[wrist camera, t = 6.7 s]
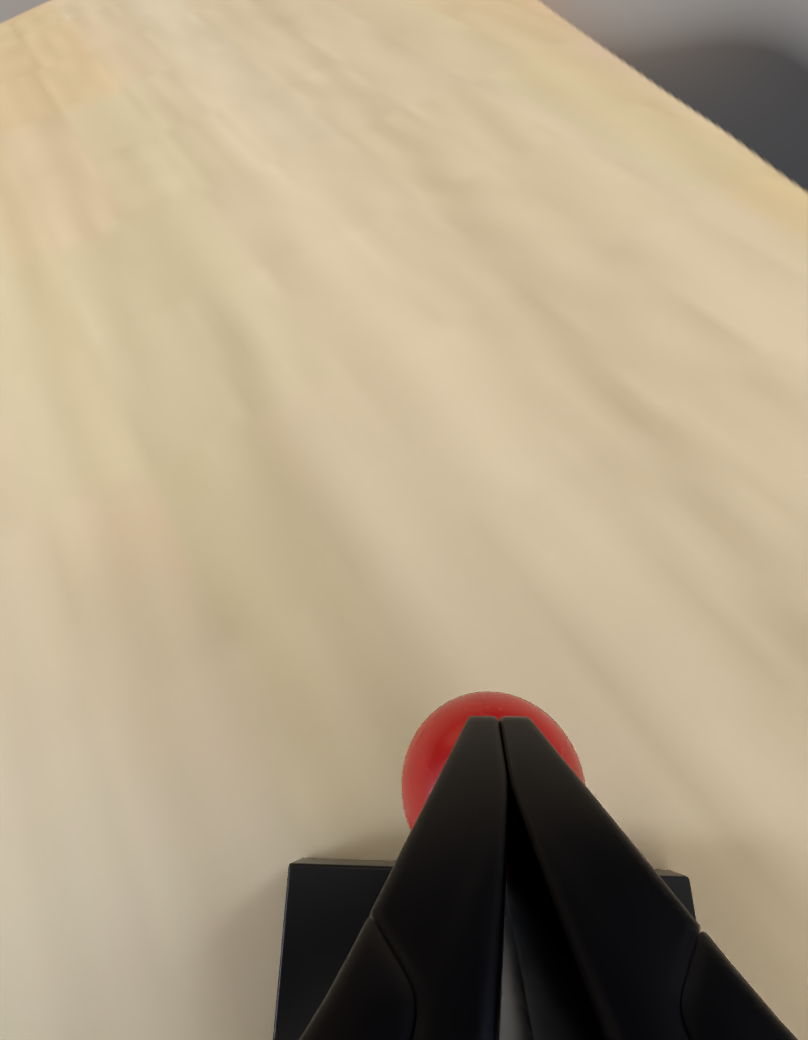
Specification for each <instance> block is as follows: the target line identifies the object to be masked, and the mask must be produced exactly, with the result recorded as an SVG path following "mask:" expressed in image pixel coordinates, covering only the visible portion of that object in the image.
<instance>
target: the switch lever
mask: <svg viewBox="0 0 808 1040" xmlns="http://www.w3.org/2000/svg"><path fill="white" fill-rule="evenodd" d="M470 716H495V717H496V718H497V719H498V720H500V718H501V717H503V716H525V717H528V718H530V719H531V720H532V721H533V722H534V724H535V725H536V726H537V727H538V728H539V730H540V731H541V732H542V733H543V735H544V736H545V737H546V738H547V739H548V741H549V742H550V743H551V744H552V746H553V747H554V748H555V749H556V750H557V752H558V753H559V754H560V755H561V757H562V758H563V759H564V760H565V761H566V763H567V764H568V765H569V766H570V767H571V769H572V770H573V771H574V772H575V774H576V775H577V776H578V777H579V778H580V780H581V781H582V782H583V783H584V785H585V780H584V776H583V771H582V767H581V764H580V761H579V758H578V756H577V754H576V752H575V749H574V747H573V745H572V744H571V742H570V741H569V739H568V737H567V736H566V734H565V733H564V731H563V730H562V729H561V728H560V727H559V725H558V724H557V723H556V722H555V721H554V720H553V719H552V718H551V717H550V716H549V715H548V714H547V713H545V712H544V711H543V710H541V709H540V708H539V707H537V706H535V705H534V704H532V703H530V702H528V701H526V700H524V699H522V698H519V697H516V696H513V695H510V694H505V693H500V692H476V693H470V694H466V695H463V696H460V697H457V698H455V699H453V700H450V701H448V702H447V703H445V704H444V705H442V706H441V707H439V708H438V709H437V710H436V711H434V712H433V713H432V714H431V715H430V716H429V717H428V718H427V719H426V720H425V721H424V722H423V723H422V725H421V726H420V728H419V729H418V730H417V732H416V734H415V735H414V737H413V739H412V741H411V743H410V746H409V748H408V751H407V754H406V757H405V761H404V765H403V771H402V800H403V807H404V811H405V815H406V819H407V822H408V824H409V827H410V829H411V830H412V828H413V826H414V824H415V822H416V820H417V818H418V816H419V814H420V812H421V810H422V808H423V806H424V804H425V802H426V800H427V798H428V796H429V794H430V792H431V790H432V788H433V786H434V784H435V782H436V780H437V778H438V776H439V774H440V772H441V770H442V768H443V766H444V764H445V762H446V760H447V758H448V756H449V754H450V752H451V750H452V748H453V746H454V744H455V742H456V740H457V739H458V737H459V735H460V733H461V731H462V729H463V727H464V725H465V723H466V721H467V719H468V718H469V717H470ZM500 1040H534V1038H533V1032H532V1027H531V1022H530V1016H529V1011H528V1005H527V1000H526V995H525V989H524V984H523V978H522V973H521V967H520V962H519V957H518V951H517V946H516V940H515V935H514V930H513V924H512V919H511V913H510V907H509V901H508V895H507V886H506V900H505V928H504V952H503V975H502V999H501V1023H500Z"/></svg>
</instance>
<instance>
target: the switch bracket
mask: <svg viewBox="0 0 808 1040" xmlns="http://www.w3.org/2000/svg"><path fill="white" fill-rule="evenodd" d="M395 862H396V861H380V860H349V859H319V858H302V859H299V860H297V861H295V862H293V863H290V864H289V868H288V879H287V890H286V901H285V912H284V923H283V934H282V945H281V956H280V967H279V978H278V989H277V1000H276V1011H275V1022H274V1033H273V1040H299V1039H300V1037H301V1036H302V1034H303V1033H304V1031H305V1029H306V1028H307V1026H308V1024H309V1023H310V1021H311V1020H312V1018H313V1016H314V1015H315V1013H316V1012H317V1010H318V1008H319V1007H320V1005H321V1003H322V1002H323V1000H324V999H325V997H326V995H327V993H328V991H329V989H330V988H331V986H332V984H333V982H334V980H335V978H336V977H337V975H338V973H339V971H340V969H341V967H342V965H343V964H344V962H345V960H346V958H347V956H348V954H349V953H350V951H351V949H352V947H353V945H354V943H355V941H356V939H357V937H358V935H359V933H360V931H361V929H362V927H363V925H364V923H365V921H366V920H367V919H368V918H370V912H371V910H372V908H373V906H374V904H375V902H376V900H377V898H378V896H379V894H380V892H381V890H382V888H383V886H384V884H385V882H386V880H387V878H388V876H389V874H390V872H391V870H392V868H393V866H394V864H395ZM655 871H656V872H657V874H658V875H659V876H660V877H661V879H662V880H663V881H664V882H665V883H666V885H667V886H668V887H669V888H670V890H671V891H672V892H673V893H674V894H675V896H676V897H677V898H678V899H679V901H680V902H681V903H682V904H683V905H684V907H685V908H686V909H687V910H688V912H689V913H690V914H691V915H692V916H693V918H694V919H695V920H696V917H695V911H694V905H693V899H692V893H691V887H690V881H689V878H688V877H686V876H684V875H681V874H679V873H676V872H673V871H671V870H655Z"/></svg>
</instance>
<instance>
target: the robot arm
mask: <svg viewBox="0 0 808 1040" xmlns="http://www.w3.org/2000/svg"><path fill="white" fill-rule="evenodd" d="M506 886H507V895H508V901H509V907H510V913H511V919H512V924H513V930H514V935H515V940H516V946H517V951H518V957H519V962H520V967H521V973H522V978H523V984H524V989H525V995H526V1000H527V1005H528V1011H529V1016H530V1022H531V1027H532V1032H533V1038H534V1040H798V1039H797V1038H796V1037H795V1036H794V1035H793V1034H792V1033H791V1032H790V1031H789V1030H788V1029H787V1028H786V1026H785V1025H784V1024H783V1023H782V1022H781V1021H780V1020H779V1019H778V1018H777V1016H776V1015H775V1014H774V1013H773V1012H772V1011H771V1009H770V1008H769V1007H768V1006H767V1005H766V1004H765V1002H764V1001H763V1000H762V999H761V998H760V997H759V995H758V994H757V993H756V992H755V991H754V990H753V988H752V987H751V986H750V985H749V984H748V983H747V981H746V980H745V979H744V978H743V977H742V976H741V974H740V973H739V972H738V971H737V970H736V969H735V967H734V966H733V965H732V964H731V963H730V961H729V960H728V959H727V958H726V956H725V955H724V954H723V953H722V952H721V950H720V949H719V948H718V947H717V945H716V944H715V943H714V942H713V940H712V939H711V938H710V937H709V935H708V934H707V933H705V932H700V925H699V924H698V923H697V921H696V920H695V919H694V918H693V916H692V915H691V914H690V913H689V912H688V910H687V909H686V908H685V907H684V905H683V904H682V903H681V902H680V901H679V899H678V898H677V897H676V896H675V894H674V893H673V892H672V891H671V890H670V888H669V887H668V886H667V885H666V883H665V882H664V881H663V880H662V879H661V877H660V876H659V875H658V874H657V872H656V871H655V870H654V869H653V868H652V866H651V865H650V864H649V863H648V861H647V860H646V859H645V858H644V857H643V855H642V854H641V853H640V852H639V850H638V849H637V848H636V847H635V846H634V844H633V843H632V842H631V841H630V840H629V838H628V837H627V836H626V835H625V833H624V832H623V831H622V830H621V829H620V827H619V826H618V825H617V824H616V822H615V821H614V820H613V819H612V818H611V816H610V815H609V814H608V813H607V811H606V810H605V809H604V808H603V807H602V805H601V804H600V803H599V802H598V800H597V799H596V798H595V797H594V796H593V794H592V793H591V792H590V791H589V789H588V788H587V787H586V786H585V785H584V783H583V782H582V781H581V780H580V778H579V777H578V776H577V775H576V774H575V772H574V771H573V770H572V769H571V767H570V766H569V765H568V764H567V763H566V761H565V760H564V759H563V758H562V757H561V755H560V754H559V753H558V752H557V750H556V749H555V748H554V747H553V746H552V744H551V743H550V742H549V741H548V739H547V738H546V737H545V736H544V735H543V733H542V732H541V731H540V730H539V728H538V727H537V726H536V725H535V724H534V722H533V721H532V720H531V719H530V718H528V717H525V716H503V717H501V718H500V720H498V719H497V718H496V717H495V716H470V717H469V718H468V719H467V721H466V723H465V725H464V727H463V729H462V731H461V733H460V735H459V737H458V739H457V740H456V742H455V744H454V746H453V748H452V750H451V752H450V754H449V756H448V758H447V760H446V762H445V764H444V766H443V768H442V770H441V772H440V774H439V776H438V778H437V780H436V782H435V784H434V786H433V788H432V790H431V792H430V794H429V796H428V798H427V800H426V802H425V804H424V806H423V808H422V810H421V812H420V814H419V816H418V818H417V820H416V822H415V824H414V826H413V828H412V830H411V832H410V834H409V836H408V838H407V840H406V842H405V844H404V846H403V848H402V850H401V852H400V854H399V856H398V858H397V860H396V862H395V864H394V866H393V868H392V870H391V872H390V874H389V876H388V878H387V880H386V882H385V884H384V886H383V888H382V890H381V892H380V894H379V896H378V898H377V900H376V902H375V904H374V906H373V908H372V910H371V912H370V918H368V919H367V920H366V921H365V923H364V925H363V927H362V929H361V931H360V933H359V935H358V937H357V939H356V941H355V943H354V945H353V947H352V949H351V951H350V953H349V954H348V956H347V958H346V960H345V962H344V964H343V965H342V967H341V969H340V971H339V973H338V975H337V977H336V978H335V980H334V982H333V984H332V986H331V988H330V989H329V991H328V993H327V995H326V997H325V999H324V1000H323V1002H322V1003H321V1005H320V1007H319V1008H318V1010H317V1012H316V1013H315V1015H314V1016H313V1018H312V1020H311V1021H310V1023H309V1024H308V1026H307V1028H306V1029H305V1031H304V1033H303V1034H302V1036H301V1037H300V1039H299V1040H500V1023H501V999H502V975H503V952H504V928H505V900H506Z"/></svg>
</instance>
